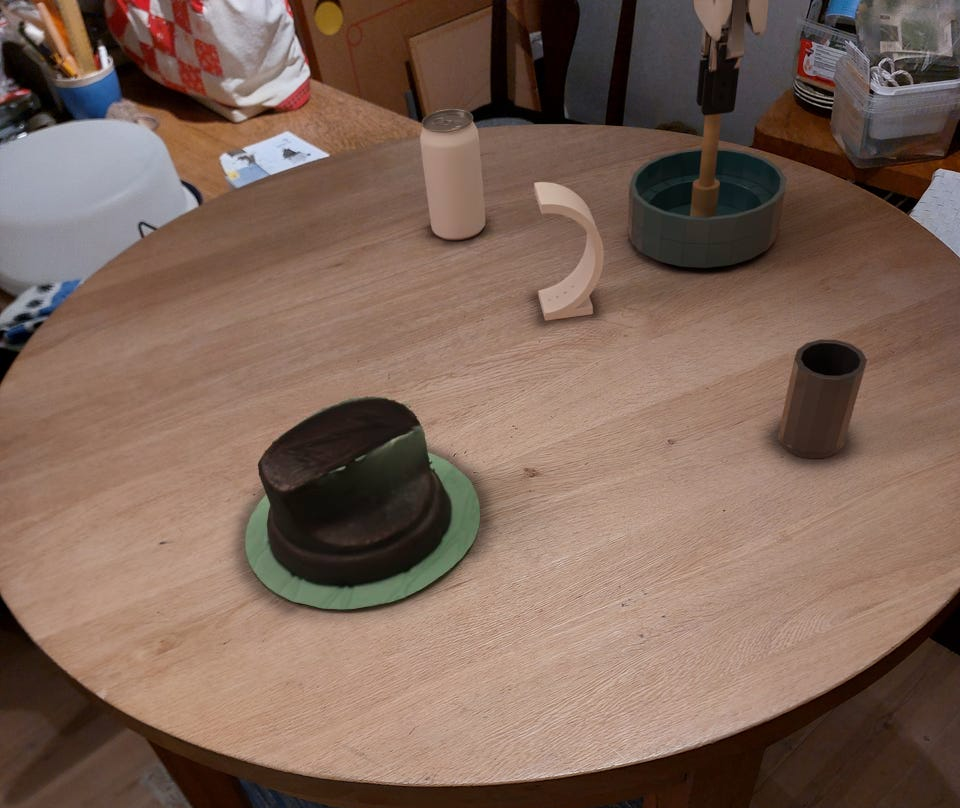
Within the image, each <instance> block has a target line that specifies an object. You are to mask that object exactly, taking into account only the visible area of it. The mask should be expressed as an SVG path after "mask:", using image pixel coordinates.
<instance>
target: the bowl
mask: <svg viewBox="0 0 960 808" xmlns="http://www.w3.org/2000/svg"><path fill="white" fill-rule="evenodd" d="M701 154H702V147H699V148H691V149H680V150H677V151H673V152H670V153H665V154H663V155H659V156H657V157H655V158H652V159H651V160H649V161H647V162H645V163H643V164H642V165H641V166H640V167H639V168H638V169H637V170H636V171H634V173H633V174H632V176H631V179H630V182H629V185H628V186H629V187H628V208H627V209H628V212H627V234H628V237H629V240H630V244H632V245H633V246H634V247H635V248H636V249H637V250H638V251H639V252H640V253H641V254H642V255H645V256H647V257H649V258H651V259H654V260H656V261H658V262H660V263H663V264H669V265H672V266H677V267H682V268H683V267H684V268H701V269H703V268H704V269H706V268H716V267H725V266H732V265H736V264H739V263H742V262H746V261H749V260H752V259H755V257H757V256H759V255H760V254H762V253H764V252H766V251H768V250H769V248H770V247H771V246H772V244H773V243H774V242H775V241H776V240H777V238H778V235H779V234H778V233H779V228H780V222H781V216H782V211H783V205H784V200H785V194H786V187H787V181H788V179H787V177H786V175H785V174H784V172H783V170H782V168H781V167H780V166H778V165H776V164H775V163H774V162H772V161H771V160H769V159H768V158H766V157H763V156H762V155H761V156H760V155H758V154H755V153H752V152H750V151H745V150H740V149H734V148H727V147H726V148H725V147H718V152H717V161H716V170H715V179H717V180H718V181H719V182H720V186H719V195H718V203H717V212H716V216H714V217H700V216H690V210H691V199H692V188H693V182H694V181H695V180H697V179H699V175H700V165H701Z"/></svg>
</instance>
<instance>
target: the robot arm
mask: <svg viewBox="0 0 960 808" xmlns="http://www.w3.org/2000/svg"><path fill="white" fill-rule="evenodd" d="M769 1H770V0H693V7H694V12H695V14H696V16H697V17H698V19H699V21H700V23H701V24H702V32H701V34H702V35H701V43H700V44H701V45H700V57H701V59H699V65H698V76H697V77H698V78H697V89H696V99H695V101H696V104H697V105H698V106H699V107H701V108H700V111H701V113H702V115H703V116H705V115H714V114H722V115H723V114H731V113H732V112H734V111H735V109H736V108H735V107H736V100H737V91H738V84H739V77H740V76H739V75H740V68H741V61H742V58H744V56H745V46H746V45H745V44H746V25H747V26H748V27H749V29H750V30H751V32H752V33H753V34H754V35H755V36H756V37H760V36H762V35H763V34H764V32H765V31H766V28H767V21H768V12H769V3H770V2H769ZM719 43H727V44H726V45H721V47H720V49H719Z"/></svg>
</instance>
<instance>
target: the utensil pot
mask: <svg viewBox="0 0 960 808" xmlns="http://www.w3.org/2000/svg"><path fill="white" fill-rule="evenodd" d="M867 362H868V359H867V357H866V355H865V353H864V351H863V350H861V349H860V348H858V347H857V346H855V345H853V344H852V343H849V342H847V341H842V340H838V339H817V340H813V341H809V342H805V344H803V345H802V346H801V347H799V348H797V350H796V352H795V355H794V359H793V364H792V367H791V368H792V369H791V372H790V376H789V377H790V378H789V382H788V387H787V391H786V397H785V401H784V405H783V410H782V416H781V420H780V425H779V429H778V441H779V443H780V445H781V446H782V447H783V449H784V450H786V451H787V452H788V453H790V454H792V455H795V456H796V457H800V458H803V459H811V460H816V459H817V460H819V459H825V458H829V457H831V456H834V455H835V454H837V453H838V452H840V451H841V449H842V448H843V446H844V444H845V439H846V436H847V433H848V430H849V429H848V428H849V426H850V422H851V419H852V416H853V413H854V412H853V411H854V408H855V405H856V401H857V397H858V394H859V391H860V388H861V384H862V381H863V377H864V374H865V369H866V367H867Z"/></svg>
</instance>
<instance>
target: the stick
mask: <svg viewBox="0 0 960 808" xmlns="http://www.w3.org/2000/svg"><path fill="white" fill-rule="evenodd" d="M726 44H727V43H719V49H720V47H721V45H726ZM722 115H723V114H714V115H704V125H703V134H702V145H701V148H702V154H701V165H700V175H699V179H697V180H695V181H694V182H693V188H692V199H691V210H690V216H700V217H714V216H716V212H717V203H718V195H719V186H720V182H719V181H718V180H717V179H715V170H716V161H717V152H718V148H719V141H720V133H721V124H722Z"/></svg>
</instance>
